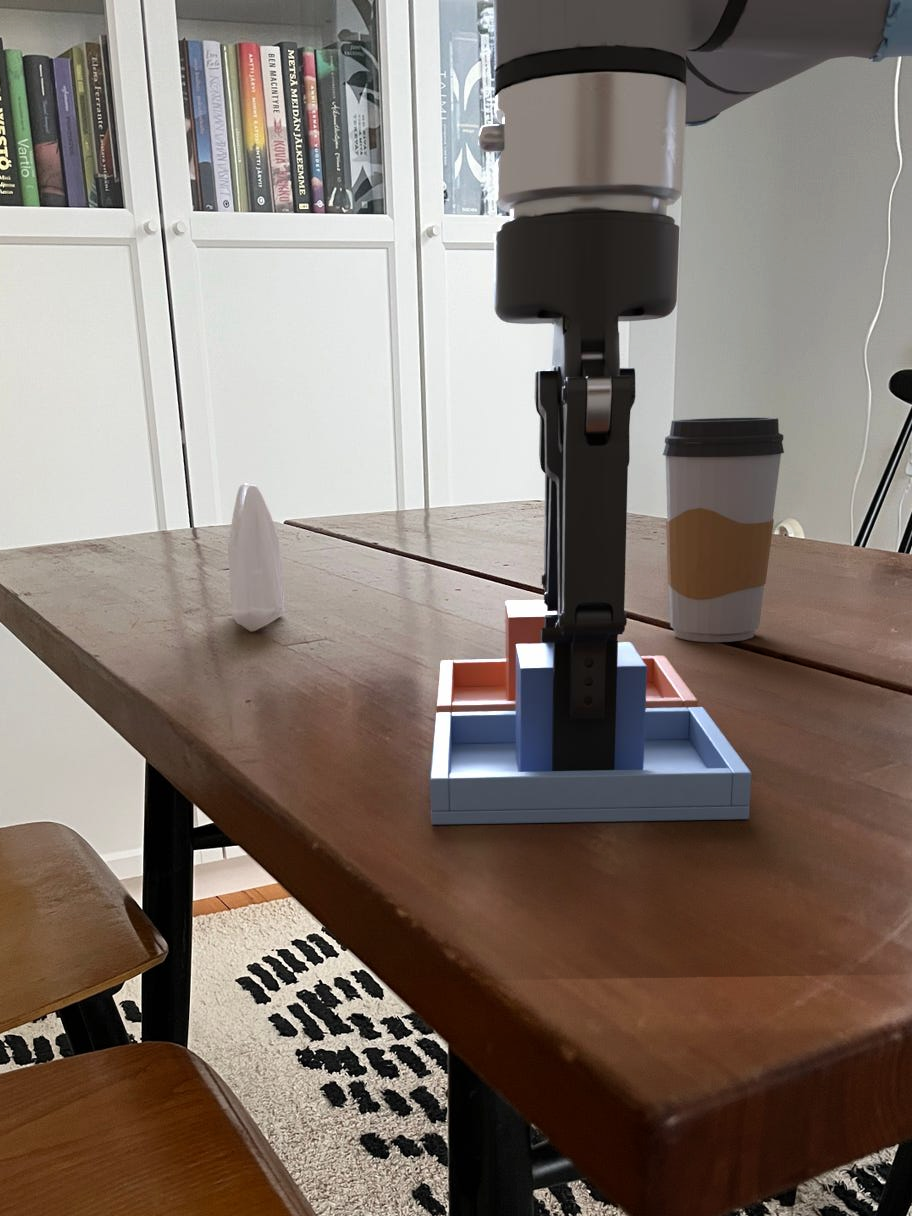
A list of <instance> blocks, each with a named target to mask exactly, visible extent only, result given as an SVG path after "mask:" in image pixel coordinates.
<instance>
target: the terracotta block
mask: <svg viewBox="0 0 912 1216" xmlns="http://www.w3.org/2000/svg"><path fill="white" fill-rule="evenodd" d="M504 610H505V611H504V613H505V618H504V619H505V620H504V623H505V624H504V625H505V628H504V629H505V631H504V632H505V633H504V634H505V635H504V637H505V659H506V698H507V701H516V644H541V629H542V628H545V615H556V611H547V606H546V604H544V599H524V600H523V599H522V600H519V599H517V600H505V602H504ZM544 644H545V643H544Z"/></svg>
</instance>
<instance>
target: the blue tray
mask: <svg viewBox="0 0 912 1216" xmlns="http://www.w3.org/2000/svg"><path fill="white" fill-rule="evenodd" d="M752 775H753V773H752V772H751V770H750V769H749V768H748V766H747V764H745V762H744V761H743V759H742V758H741V757H740V756H739V754H738V753H737V751H736V750H735V748H734V747H733V746H732V744H731V743H730V742H729V740H728V739H727V738H726V737H725V735H724V734H723V732H722V730H721V729H720V728H719V727H718V726H717V724H716V723H715V722H714V720H713V718H712V717H711V716H710V714H709V713H708V712H707V711H706V709H705V708H704V707H703V706H698V707H689V708H686V707H682V708H646V710H645V737H644V764H643V770H597V771H545V772H518V767H517V760H516V711H487V712H452V714H451V713H450V712H442V713H437V712H436V713H435V719H434V732H433V742H432V753H431V765H430V777H429V790H430V791H429V793H430V822H431V825H432V826H440V825H445V826H446V825H492V824H493V825H501V824H504V825H505V824H543V823H544V824H549V823H550V824H555V823H557V824H558V823H559V824H560V823H561V824H562V823H613V822H614V823H615V822H616V823H617V822H659V821H660V822H666V821H667V822H668V821H670V822H671V821H719V820H720V821H722V820H723V821H724V820H725V821H726V820H729V821H730V820H732V821H733V820H749V819H750V804H751V789H752Z"/></svg>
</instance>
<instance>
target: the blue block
mask: <svg viewBox="0 0 912 1216" xmlns="http://www.w3.org/2000/svg"><path fill="white" fill-rule="evenodd" d="M641 656H642V655H641V654H640V653H639V652H638V649H636V647H635V646H634V644H633V643H632V642H631V641H618V658H617V695H616V731H615V767H614V770H643V764H644V737H645V710H646V683H647V666H646V664H645V663H644V661H643V660H642V658H641ZM552 729H553V643H545V644H516V760H517V767H518V772H545V771H552Z"/></svg>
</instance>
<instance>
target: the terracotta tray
mask: <svg viewBox="0 0 912 1216" xmlns="http://www.w3.org/2000/svg"><path fill="white" fill-rule="evenodd" d="M640 656H641V658H642V660H643V661H644V663H645V664H646V666H647V683H646V708H682V707H686V708H689V707H699V700H698V699H697V698H696V696H695V695H694V694H693V692H692V691H691V689H690V688H689V687H688V685H687V684H686V682H685V681H684V680H683V679H682V677H681V676H680V674H679V672H677V670H676V669H675V668H674V666H673V664H672V663H671V662H670V661H669V660H668V658H667V657H666V656H665V655H640ZM487 711H516V701H507V698H506V658H488V659H487V658H486V659H485V658H484V659H483V658H482V659H481V658H480V659H452V660H451V659H448V660H447V659H446V660H443V659H442V660H440V662H439V675H438V686H437V695H436V713H442V712H450V713H451V714H452V712H487Z"/></svg>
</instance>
